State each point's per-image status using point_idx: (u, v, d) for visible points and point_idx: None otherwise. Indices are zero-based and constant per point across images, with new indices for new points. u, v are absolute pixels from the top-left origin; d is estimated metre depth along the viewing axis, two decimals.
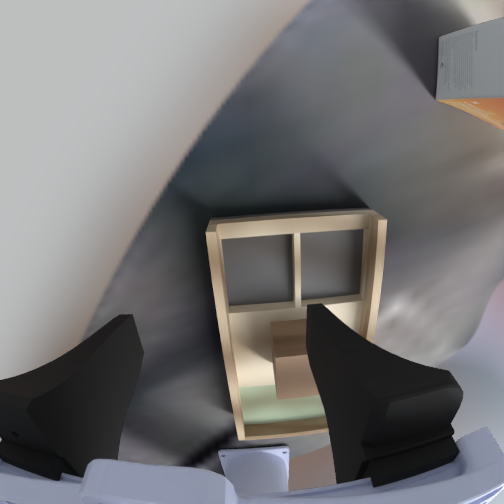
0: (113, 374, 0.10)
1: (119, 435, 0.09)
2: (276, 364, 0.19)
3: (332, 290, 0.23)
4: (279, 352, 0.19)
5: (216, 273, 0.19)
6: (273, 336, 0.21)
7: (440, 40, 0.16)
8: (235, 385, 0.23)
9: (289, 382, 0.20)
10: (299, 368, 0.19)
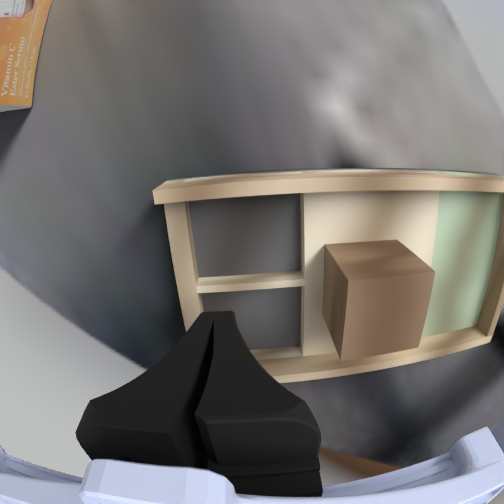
0: None
1: None
2: (353, 357, 0.13)
3: (290, 225, 0.16)
4: (338, 348, 0.14)
5: None
6: (329, 330, 0.15)
7: None
8: (400, 358, 0.17)
9: (390, 338, 0.13)
10: (369, 330, 0.13)
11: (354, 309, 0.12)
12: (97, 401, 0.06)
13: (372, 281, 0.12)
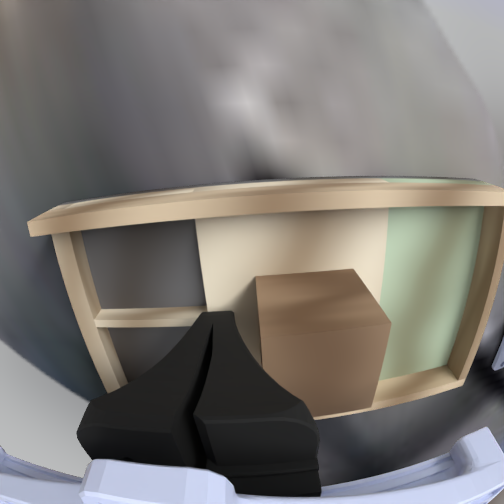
0: None
1: None
2: None
3: (190, 253, 0.13)
4: None
5: None
6: None
7: None
8: None
9: (329, 400, 0.10)
10: (299, 391, 0.10)
11: (274, 369, 0.09)
12: (98, 401, 0.06)
13: (295, 337, 0.09)
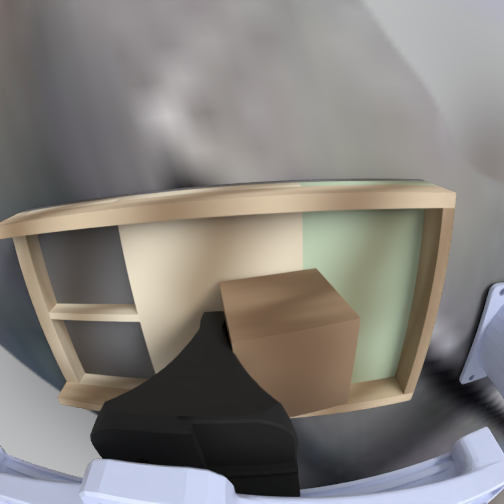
0: None
1: None
2: None
3: (122, 256, 0.14)
4: None
5: (94, 406, 0.15)
6: None
7: None
8: None
9: (305, 399, 0.10)
10: (274, 393, 0.10)
11: None
12: (112, 403, 0.06)
13: (266, 339, 0.09)
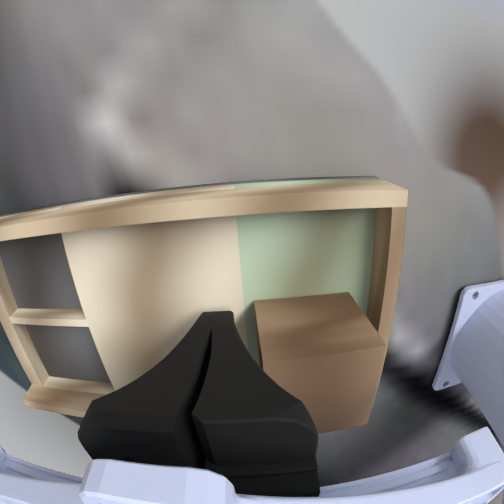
0: None
1: None
2: None
3: None
4: None
5: (55, 409, 0.14)
6: None
7: None
8: None
9: (327, 418, 0.10)
10: None
11: None
12: (100, 401, 0.06)
13: (295, 361, 0.09)
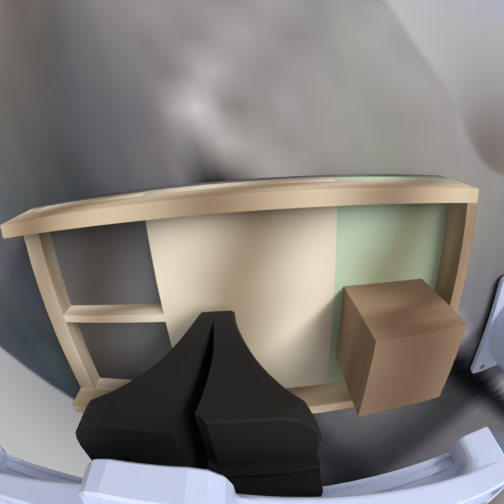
0: None
1: None
2: (371, 412, 0.11)
3: (146, 253, 0.14)
4: (355, 403, 0.12)
5: None
6: (345, 379, 0.13)
7: None
8: None
9: (412, 392, 0.11)
10: (391, 386, 0.11)
11: (379, 368, 0.10)
12: (97, 401, 0.06)
13: (401, 339, 0.10)
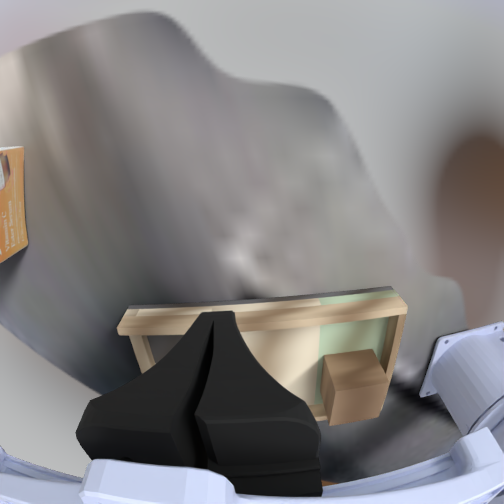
0: None
1: None
2: (337, 423, 0.21)
3: None
4: (328, 418, 0.21)
5: None
6: (324, 404, 0.23)
7: None
8: None
9: (359, 414, 0.20)
10: (347, 411, 0.20)
11: (338, 403, 0.20)
12: (97, 401, 0.06)
13: (349, 390, 0.19)
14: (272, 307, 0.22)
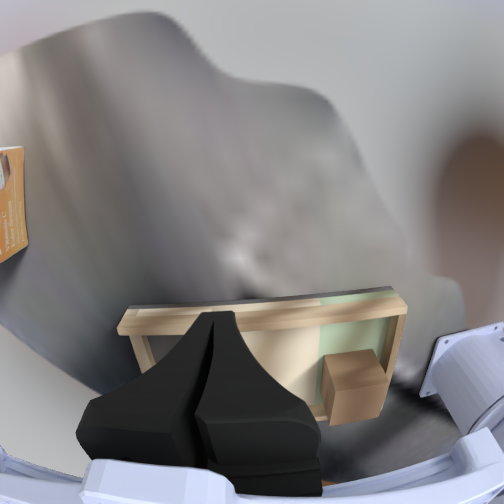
0: None
1: None
2: (337, 423, 0.21)
3: None
4: (328, 418, 0.21)
5: None
6: (324, 404, 0.23)
7: None
8: None
9: (359, 414, 0.20)
10: (347, 411, 0.20)
11: (338, 403, 0.20)
12: (97, 401, 0.06)
13: (349, 390, 0.19)
14: (272, 307, 0.22)
